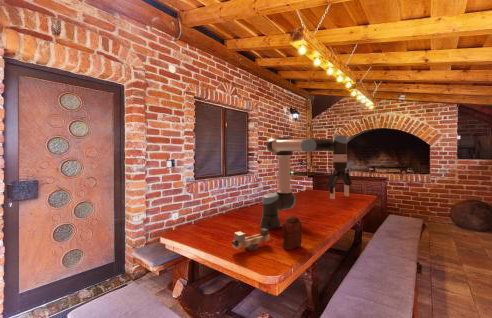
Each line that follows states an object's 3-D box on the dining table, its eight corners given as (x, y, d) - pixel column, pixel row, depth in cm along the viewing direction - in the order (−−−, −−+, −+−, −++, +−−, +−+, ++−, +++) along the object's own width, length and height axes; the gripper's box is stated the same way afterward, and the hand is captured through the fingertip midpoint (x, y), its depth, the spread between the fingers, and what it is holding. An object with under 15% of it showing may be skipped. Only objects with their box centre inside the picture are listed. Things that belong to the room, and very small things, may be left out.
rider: (239, 244, 137) (238, 235, 137) (234, 241, 142) (234, 232, 141) (245, 243, 140) (245, 233, 139) (240, 240, 144) (240, 231, 143)
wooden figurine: (295, 243, 152) (295, 213, 152) (302, 246, 147) (302, 216, 146) (280, 247, 146) (280, 216, 145) (287, 251, 141) (287, 219, 140)
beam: (237, 255, 136) (237, 238, 136) (231, 251, 141) (231, 235, 141) (270, 245, 149) (270, 230, 149) (264, 242, 154) (263, 227, 154)
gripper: (332, 162, 138) (331, 201, 139) (358, 160, 152) (357, 195, 153) (320, 162, 144) (320, 199, 145) (347, 160, 158) (346, 193, 159)
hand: (339, 197), depth 149 cm, fingers open, 13 cm apart
